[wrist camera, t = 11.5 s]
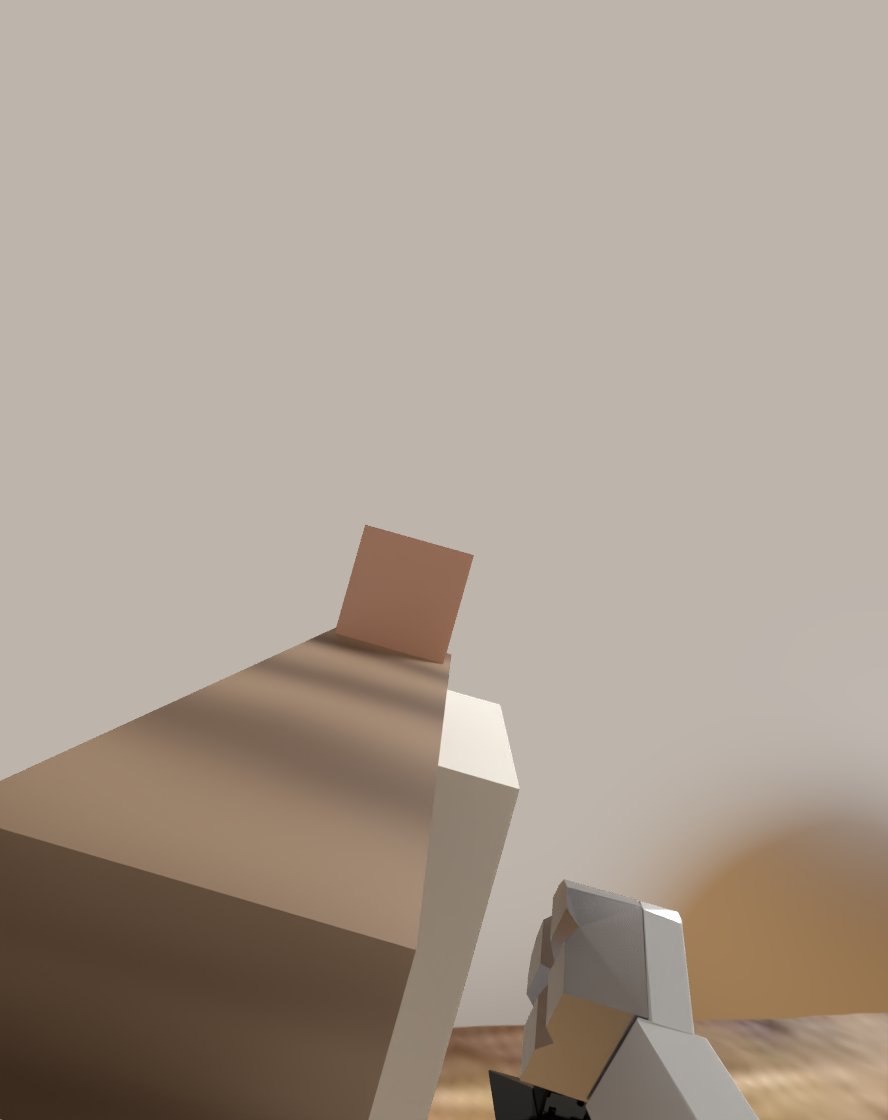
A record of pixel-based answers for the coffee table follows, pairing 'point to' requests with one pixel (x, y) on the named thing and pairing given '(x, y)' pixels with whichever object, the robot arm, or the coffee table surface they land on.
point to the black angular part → (532, 1101)
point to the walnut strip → (222, 896)
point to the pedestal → (450, 899)
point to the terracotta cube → (404, 594)
